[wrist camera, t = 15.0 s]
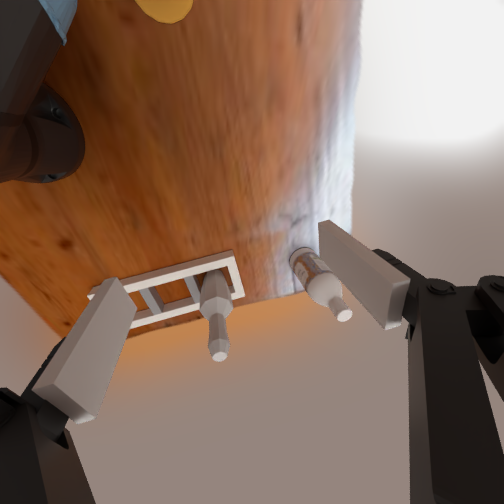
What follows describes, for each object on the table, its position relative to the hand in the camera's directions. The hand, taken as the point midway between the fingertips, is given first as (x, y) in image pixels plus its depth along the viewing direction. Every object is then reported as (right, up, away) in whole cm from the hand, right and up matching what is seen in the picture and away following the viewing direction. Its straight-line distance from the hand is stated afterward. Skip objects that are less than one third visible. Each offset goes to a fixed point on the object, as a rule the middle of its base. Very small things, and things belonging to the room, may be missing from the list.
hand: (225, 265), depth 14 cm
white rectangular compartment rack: (-17, -8, +39) cm, 43 cm away
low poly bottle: (-7, -5, +40) cm, 41 cm away
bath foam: (+14, -1, +42) cm, 44 cm away
